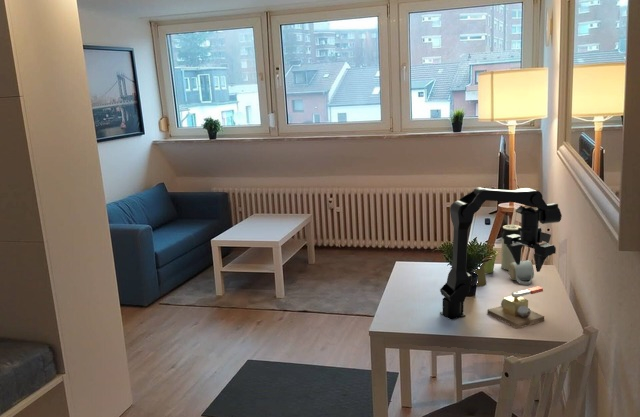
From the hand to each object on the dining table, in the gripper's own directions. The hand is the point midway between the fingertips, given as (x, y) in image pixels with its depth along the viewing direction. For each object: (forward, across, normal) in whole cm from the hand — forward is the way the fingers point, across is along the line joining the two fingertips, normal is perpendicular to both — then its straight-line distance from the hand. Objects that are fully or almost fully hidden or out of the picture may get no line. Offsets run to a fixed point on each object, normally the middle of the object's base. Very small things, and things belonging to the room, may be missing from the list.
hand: (528, 268), depth 204 cm
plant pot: (+14, +36, -14) cm, 41 cm away
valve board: (+14, -5, +11) cm, 18 cm away
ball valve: (+12, -5, +11) cm, 17 cm away
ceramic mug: (+14, +20, -18) cm, 31 cm away
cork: (+14, +26, -1) cm, 30 cm away
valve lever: (+7, -5, +6) cm, 10 cm away
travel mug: (+14, +34, -26) cm, 45 cm away
